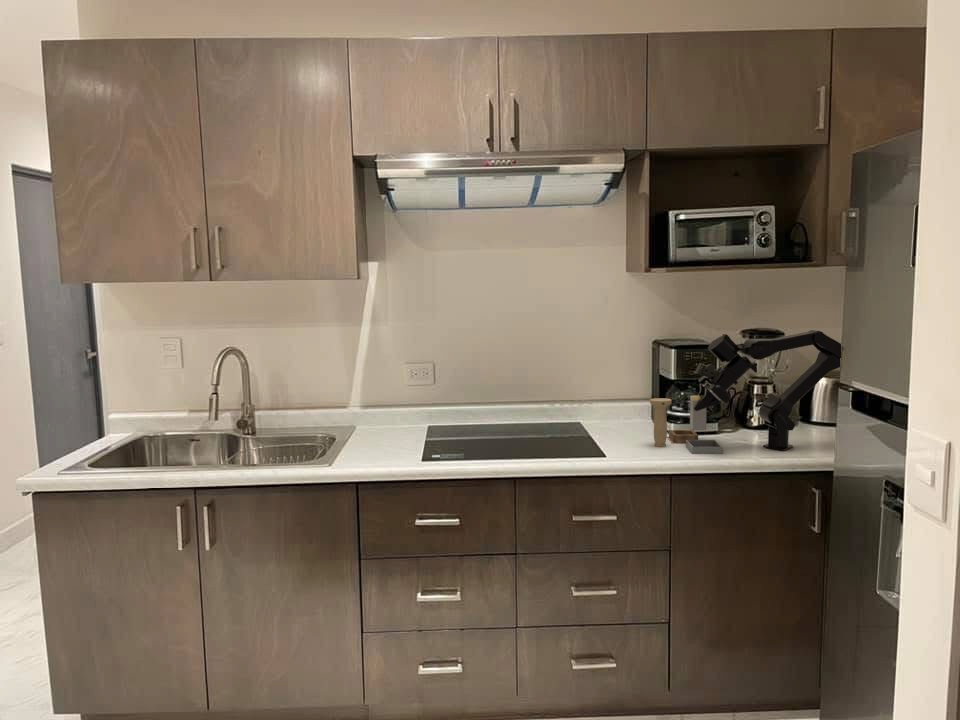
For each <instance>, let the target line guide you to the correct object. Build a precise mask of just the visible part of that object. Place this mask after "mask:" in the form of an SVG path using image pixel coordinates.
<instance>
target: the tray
mask: <svg viewBox="0 0 960 720" xmlns="http://www.w3.org/2000/svg"><path fill="white" fill-rule="evenodd" d="M685 447H686V449H687V450H688V451H689V452H690V453H691V454H692V455H723V454H724V453H723V452H724V447H723V445H721V444H720V443H719V442H718V441H717V440H716V439H698V440H686V444H685Z"/></svg>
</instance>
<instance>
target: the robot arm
mask: <svg viewBox="0 0 960 720" xmlns="http://www.w3.org/2000/svg"><path fill="white" fill-rule="evenodd" d="M841 344H842V343H840V342H839V341H837V340H835V339H834V338H831V337H830V336H828V335H827V334H826V333H824V332H823V331H820V330H815V329H811V330H808V331H805V332H804V331H803V332H800V333H795V334H789V335H784V336H779V337H776V338H749V339H746V340H745V341H744V343H735V342H734V340H732V339H731V337H730V336H729V335H728V334H727V333H723V334H722V335H721V336H719V337H717V338H715V339H713V340H712V341H711V342H710V343H709V345H708V347H707V350H709V352H710V353H712V355H713V356H714V357H715V358H717V359H718V360H719V361H720V363H725V362H726V363H725V365H723V367H721V366H720V367H718V368H716V369H715V366H714V365H712V364H710V363H708V364H704V363H701V362H699V363H698V365H697V367H696V369H695V371H694V372H695V373H696V374H698V375H700V376H701V377H699V378H698V379H697V380H698V382H699V392H698V394H697V395H704V396H703V397H702V399H701V400H700V401H699V402H698V404H697V405H696V406H695V408H694V410H695V411H699V410H701V409H704V408H706V409H707V408H709V407H712V406H716V405H719V404H722V403H724V404H725V405H727V404H728V403H729V402H730V401H731V398H732V396H731V394H730V393H729V392H728V390H729V389H730V388H732V386H734V385H737V384H738V383H739V380H740V379H741V378H742V377H743V376H744V375H745V374H746V373H747V372H748V371H752V372H754V373H757V372H758V363H756V362H754V361H753V362H752V361H751V360H750V359H753V360H756V361H761V360H764V359H767V358H768V357H772V356H773V355H776V353H779V352H783V351H788V350H794V349H798V348H803V347H808V346H813V347H814V348H815V349H816V350H817V351H819V353H818V354H817V357H816V359H815V362H814V363H813V364H812V365H811V366H810V367H809V368H808V369H807V370H805V372H803V373H802V374H801V375H800V376H799V377H798V378H797V379H796V380H795V381H794V382H793V383H792V384H791V385H790V386H789V387H788V388H786V389H785V391H783V392H782V393H781V394H780V395H777V396H776V395H773V394H770V395H769V396H768V397H767V398H766V400H764V401H763V402H761V403H760V404H761V405H760V407H759V408H758V410H759V411H758V412H759V414H758V415H759V417H760V419H762V420H763V423H764V425H766V426H768V432H767V434H768V435H767V443H765V444H764V445H762V447H763V448H767V449H772V450H778V451H787V450H789V449H791V448H793V447H794V446H793V445H791V444H789V441H790V440H789V435H790V431H793V430H794V428H795V426H796V423H795V422H794V421H793V420H792V419H791V418H790V416H791V414H792V413H793V409H794V406H795V405H796V404H797V403H798V402H799V401H801V399H803V397H804V396H805V395H806V394H807V393H808V392H810V390H812V389H813V388H814V387H815V386H816V385H817V384H818V383H819V382H820V381H821V380H822V379H823V378H824V377H825V376H826V375H828V373H830V372H832V371H835V370H837V369H840V368H841V367H840V358H841ZM739 353H740V354H743V355H744V356H741V355H740V354H739ZM749 358H750V359H749Z"/></svg>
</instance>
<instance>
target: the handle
mask: <svg viewBox="0 0 960 720" xmlns="http://www.w3.org/2000/svg"><path fill="white" fill-rule="evenodd" d="M649 404H650V405H651V406H653V407H654V420H653V421H654V423H653V440H654V446H655V447H657V448H664V447H666V446H667V443H666V442H667V440H668V439H667V437H668V425H667V424H668V421H667V408H668V407H669V406H671V405H672V399H671V398H665V397H664V398H663V397H662V398H661V397H660V398H658V397H657V398H656V397H655V398H650V399H649Z"/></svg>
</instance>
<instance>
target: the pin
mask: <svg viewBox="0 0 960 720" xmlns="http://www.w3.org/2000/svg"><path fill="white" fill-rule="evenodd" d="M703 396H704V395H698V394H697V395H690V397H689V400H690V401H689V402H690V403H689V405H690V406H689V407H690V408H689V428H690V430H694V431H707V408H704V409H701V410H699V411H695V410H694V408H695V406H696V405H697V404H698V402H699V401H700V400H701V399H702V397H703Z"/></svg>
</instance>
